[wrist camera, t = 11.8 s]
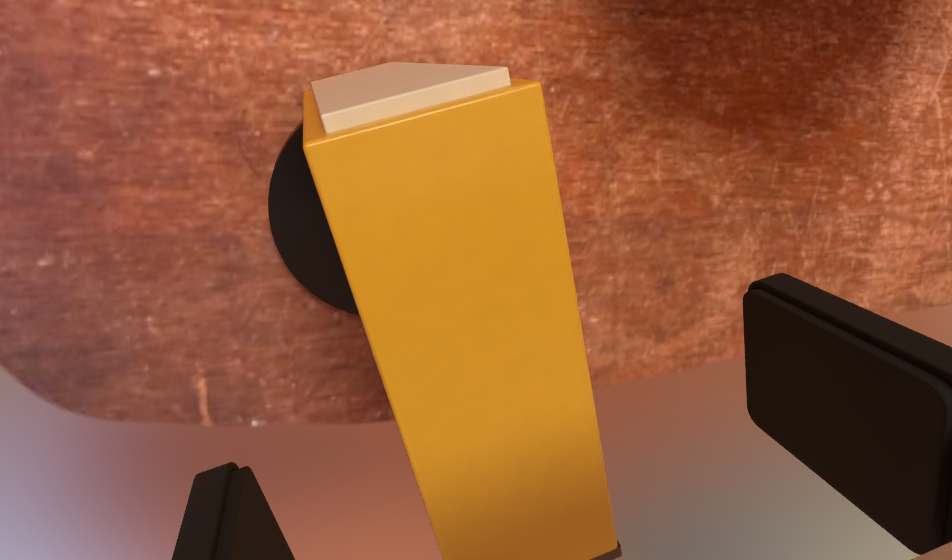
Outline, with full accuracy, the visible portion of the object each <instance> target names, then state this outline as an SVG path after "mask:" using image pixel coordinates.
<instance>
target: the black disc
mask: <svg viewBox="0 0 952 560" xmlns="http://www.w3.org/2000/svg"><path fill="white" fill-rule="evenodd" d="M268 210H269V220H270V226H271V231H272V234H273V238H274V241H275V244H276V246H277V248H278V251H279V253H280V255H281V257H282V259H283V260H284V262H285V264H286V265H287V267H288V268H289V270H290V271H291V272H292V274H293V275H294V276H295V277H296V278H297V279H298V281H299V282H300V283H301V284H302V285H303V286H305V287H306V288H307V289H308V290H309V291H310V292H311V293H313V294H314V295H316V296H317V297H319V298H320V299H321V300H323V301H325V302H327V303H329V304H331V305H332V306H334V307H336V308H339V309H342V310H345V311H347V312H350V313H354V314H359V312H358V309H357V306H356V303H355V300H354V297H353V294H352V291H351V288H350V285H349V282H348V279H347V276H346V274H345V271H344V268H343V265H342V262H341V259H340V256H339V253H338V250H337V247H336V244H335V241H334V238H333V235H332V232H331V230H330V227H329V224H328V221H327V218H326V215H325V212H324V209H323V206H322V203H321V200H320V197H319V194H318V191H317V189H316V186H315V183H314V180H313V177H312V174H311V171H310V168H309V165H308V162H307V159H306V156H305V153H304V150H303V120H302V121H301V122H300V123H299V125H298V126H297V127H296V128H295V129H294V131H293V132H292V133H291V134H290V136H289V137H288V139H287V141H286V142H285V144H284V146H283V147H282V149H281V151H280V154H279V156H278V158H277V161H276V163H275V167H274V170H273V174H272V178H271V182H270V189H269V197H268Z"/></svg>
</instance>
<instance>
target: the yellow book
mask: <svg viewBox="0 0 952 560" xmlns="http://www.w3.org/2000/svg"><path fill="white" fill-rule="evenodd" d="M311 86H312V89H313V90H309V91H305V92H304V93H303V150H304V153H305V156H306V159H307V162H308V165H309V168H310V171H311V174H312V177H313V180H314V183H315V186H316V189H317V191H318V194H319V197H320V200H321V203H322V206H323V209H324V212H325V215H326V218H327V221H328V224H329V227H330V230H331V232H332V235H333V238H334V241H335V244H336V247H337V250H338V253H339V256H340V259H341V262H342V265H343V268H344V271H345V274H346V276H347V279H348V282H349V285H350V288H351V291H352V294H353V297H354V300H355V303H356V306H357V309H358V312H359V315H360V317H361V320H362V323H363V326H364V329H365V332H366V335H367V338H368V341H369V344H370V347H371V350H372V353H373V356H374V359H375V361H376V364H377V367H378V370H379V373H380V376H381V379H382V382H383V385H384V388H385V391H386V394H387V397H388V400H389V402H390V405H391V408H392V411H393V414H394V417H395V420H396V423H397V426H398V429H399V432H400V435H401V438H402V440H403V444H404V446H405V449H406V452H407V455H408V458H409V461H410V464H411V467H412V470H413V473H414V475H415V479H416V482H417V484H418V488H419V490H420V493H421V496H422V499H423V502H424V505H425V508H426V511H427V514H428V516H429V520H430V523H431V526H432V529H433V531H434V534H435V537H436V540H437V543H438V546H439V549H440V552H441V555H442V558H443V560H614V559H616V558H619V557H621V556H622V552H621V546H620V544H619V542H618V540H617V537H616V531H615V526H614V519H613V513H612V507H611V501H610V495H609V489H608V483H607V477H606V471H605V465H604V459H603V453H602V447H601V441H600V435H599V429H598V423H597V417H596V411H595V405H594V399H593V393H592V387H591V381H590V375H589V369H588V363H587V356H586V350H585V344H584V338H583V332H582V326H581V320H580V314H579V308H578V302H577V296H576V290H575V284H574V278H573V272H572V266H571V260H570V254H569V248H568V242H567V236H566V230H565V224H564V218H563V212H562V206H561V200H560V194H559V188H558V182H557V175H556V169H555V163H554V157H553V151H552V145H551V139H550V133H549V127H548V121H547V115H546V109H545V103H544V97H543V91H542V85H541V83H540V82H539V81H534V80H524V79H514V78H510V76H509V71H508V68H507V67H499V66H476V65H453V64H430V63H406V62H388V63H384V64H380V65H376V66H372V67H368V68H364V69H360V70H356V71H352V72H348V73H344V74H340V75H336V76H332V77H328V78H324V79H320V80H316V81H312V82H311Z"/></svg>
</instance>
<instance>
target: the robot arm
mask: <svg viewBox="0 0 952 560" xmlns="http://www.w3.org/2000/svg"><path fill="white" fill-rule="evenodd" d="M743 318H744V343H745V366H746V391H747V408H748V412H749V415H750V417H751V419H752V420H753V421H754V423H755V424H756V425H757V426H758V427H759V428H761V429H762V430H763V431H764V432H765V433H767V434H768V435H769V436H770V437H772V438H773V439H774V440H775V441H777V442H778V443H779V444H780V445H781V446H783V447H784V448H785V449H786V450H788V451H789V452H790V453H791V454H793V455H794V456H795V457H796V458H798V459H799V460H800V461H801V462H802V463H804V464H805V465H806V466H807V467H809V468H810V469H811V470H812V471H814V472H815V473H816V474H817V475H818V476H820V477H821V478H822V479H823V480H825V481H826V482H827V483H828V484H829V485H831V486H832V487H833V488H834V489H836V490H837V491H838V492H839V493H841V494H842V495H843V496H844V497H846V498H847V499H848V500H849V501H851V502H852V503H853V504H854V505H855V506H857V507H858V508H859V509H860V510H861V511H863V512H864V513H865V514H866V515H868V516H869V517H870V518H871V519H873V520H874V521H875V522H876V523H877V524H879V525H880V526H881V527H883V528H884V529H885V530H886V531H887V532H889V533H890V534H891V535H892V536H893V537H895V538H896V539H897V540H898V541H900V542H901V543H902V544H903V545H905V546H906V547H907V548H908V549H910V550H911V551H913V552H914V553H917V554H919V555H921V556H918V557H916V558H914V559H912V560H952V348H951V347H950V346H947V345H945V344H943V343H941V342H938V341H936V340H934V339H932V338H929V337H927V336H925V335H923V334H920V333H918V332H916V331H914V330H911V329H909V328H907V327H904V326H902V325H900V324H898V323H896V322H893V321H891V320H889V319H887V318H884V317H882V316H880V315H878V314H875V313H873V312H871V311H869V310H866V309H864V308H862V307H860V306H857V305H855V304H853V303H851V302H848V301H846V300H844V299H842V298H839V297H837V296H835V295H833V294H830V293H828V292H826V291H824V290H821V289H819V288H817V287H815V286H812V285H810V284H808V283H806V282H803V281H801V280H799V279H797V278H794V277H792V276H790V275H788V274H784V273H778V274H775V275H772V276H769V277H766V278H763V279H761V280H758V281H755V282H753V283H751V284H750V286H749V288H748V292H747V293H745V294H744V297H743ZM172 560H295V558H294V556H293V554H292V552H291V550H290V548H289V546H288V544H287V542H286V540H285V538H284V536H283V534H282V532H281V529H280V527H279V525H278V523H277V521H276V519H275V517H274V515H273V513H272V511H271V509H270V507H269V505H268V503H267V501H266V498H265V496H264V494H263V493H262V490H261V488H260V486H259V484H258V482H257V480H256V478H255V476H254V474H253V472H252V470H251V469H250V468H249V467H248V466H246V467H243V468H240V469H239V467H238V466H237V465H236V464H235V463H233V462H231V463H227V464H224V465H221V466H219V467H216V468H213V469H210V470H207V471H204V472H201V473H199V474H197V475H196V476H195V478H194V481H193V485H192V488H191V492H190V496H189V500H188V503H187V506H186V510H185V514H184V517H183V521H182V525H181V528H180V532H179V535H178V539H177V543H176V547H175V550H174V553H173V557H172Z"/></svg>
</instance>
